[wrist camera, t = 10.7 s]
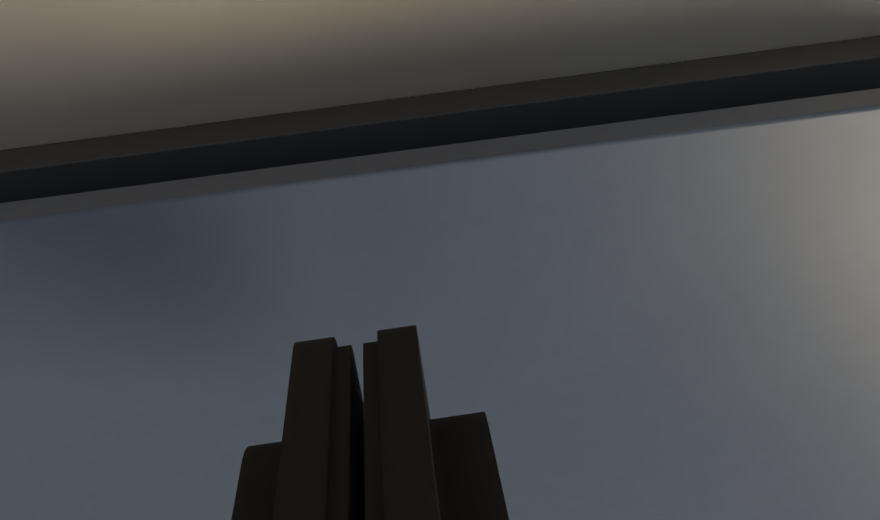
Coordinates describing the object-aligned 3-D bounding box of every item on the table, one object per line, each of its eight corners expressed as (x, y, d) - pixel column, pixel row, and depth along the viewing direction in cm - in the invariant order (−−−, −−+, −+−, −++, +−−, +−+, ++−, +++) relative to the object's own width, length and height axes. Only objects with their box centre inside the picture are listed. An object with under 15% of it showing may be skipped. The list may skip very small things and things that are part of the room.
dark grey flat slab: (-235, 180, 15) (-286, 209, 14) (990, 20, 15) (1040, 36, 14) (57, 705, 23) (40, 752, 21) (869, 596, 23) (895, 637, 22)
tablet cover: (-335, 242, 13) (-375, 269, 12) (1091, 56, 13) (1130, 73, 12) (41, 749, 22) (31, 782, 21) (893, 634, 22) (910, 662, 21)
